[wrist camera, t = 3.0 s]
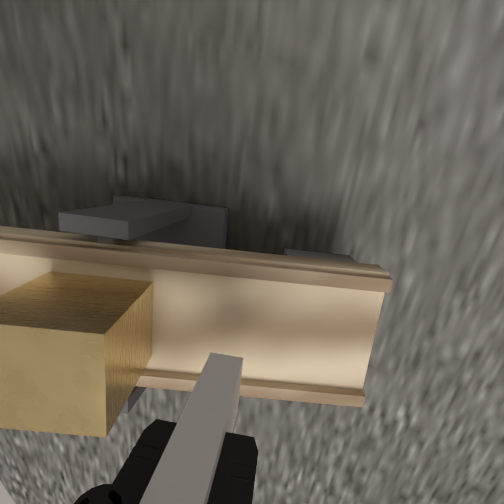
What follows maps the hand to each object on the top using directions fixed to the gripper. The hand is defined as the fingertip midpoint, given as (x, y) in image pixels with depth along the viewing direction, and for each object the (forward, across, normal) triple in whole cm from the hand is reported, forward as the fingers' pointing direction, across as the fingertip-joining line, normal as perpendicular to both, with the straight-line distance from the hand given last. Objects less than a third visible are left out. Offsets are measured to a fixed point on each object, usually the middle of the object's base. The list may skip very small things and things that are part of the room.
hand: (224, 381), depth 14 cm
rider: (+4, -8, 0) cm, 9 cm away
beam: (+9, -9, 0) cm, 13 cm away
